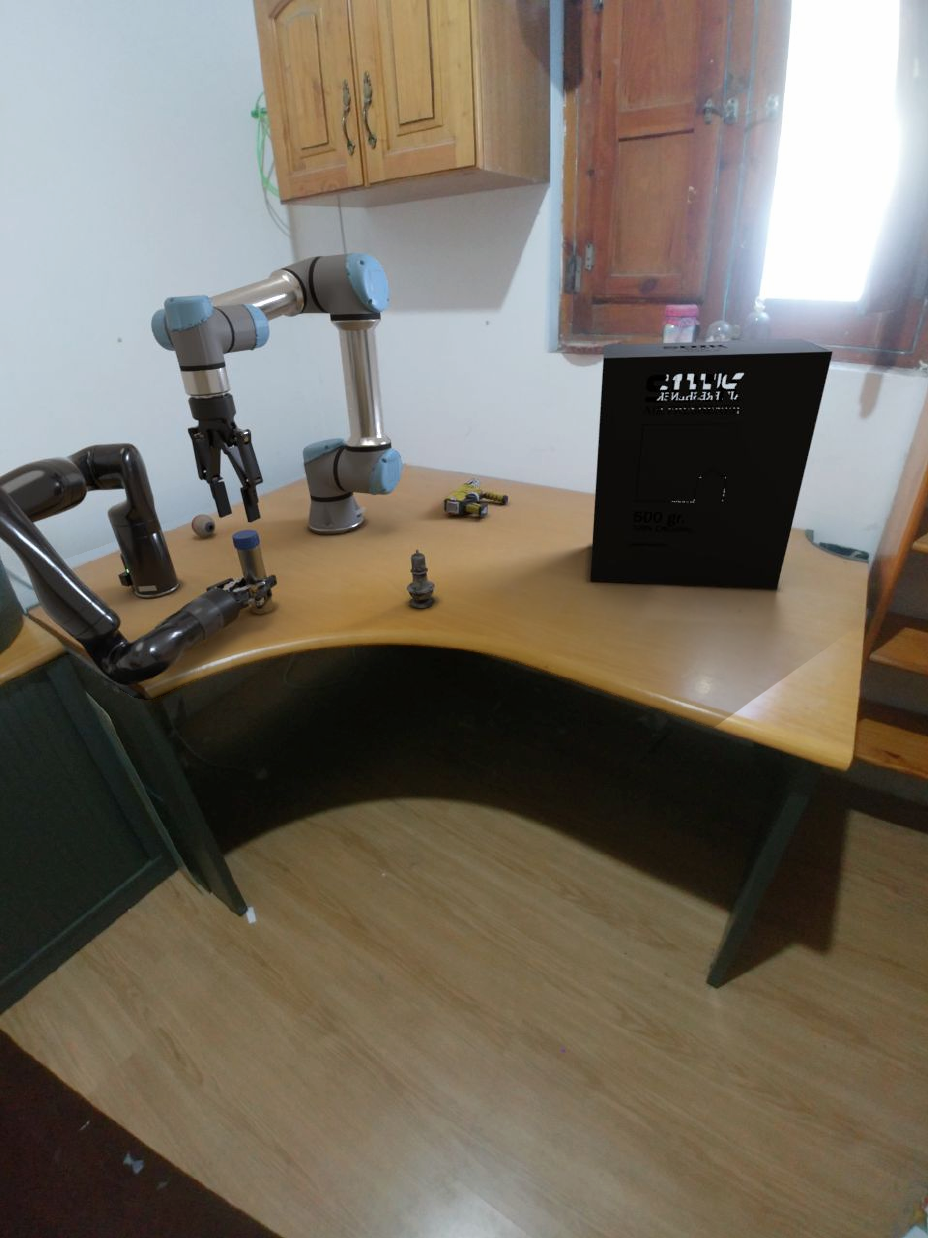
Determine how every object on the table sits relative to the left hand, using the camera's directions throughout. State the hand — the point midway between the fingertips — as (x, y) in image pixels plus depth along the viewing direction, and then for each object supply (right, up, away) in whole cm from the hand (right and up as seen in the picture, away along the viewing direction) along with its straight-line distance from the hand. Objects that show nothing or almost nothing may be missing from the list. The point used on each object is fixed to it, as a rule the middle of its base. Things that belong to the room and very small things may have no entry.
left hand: (265, 577), depth 127 cm
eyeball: (-29, +14, +40) cm, 51 cm away
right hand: (-2, +11, -9) cm, 15 cm away
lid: (-2, +8, -7) cm, 11 cm away
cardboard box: (+90, +3, +9) cm, 91 cm away
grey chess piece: (+33, -5, 0) cm, 34 cm away
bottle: (-1, -7, +1) cm, 7 cm away
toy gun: (+47, +25, +50) cm, 73 cm away
